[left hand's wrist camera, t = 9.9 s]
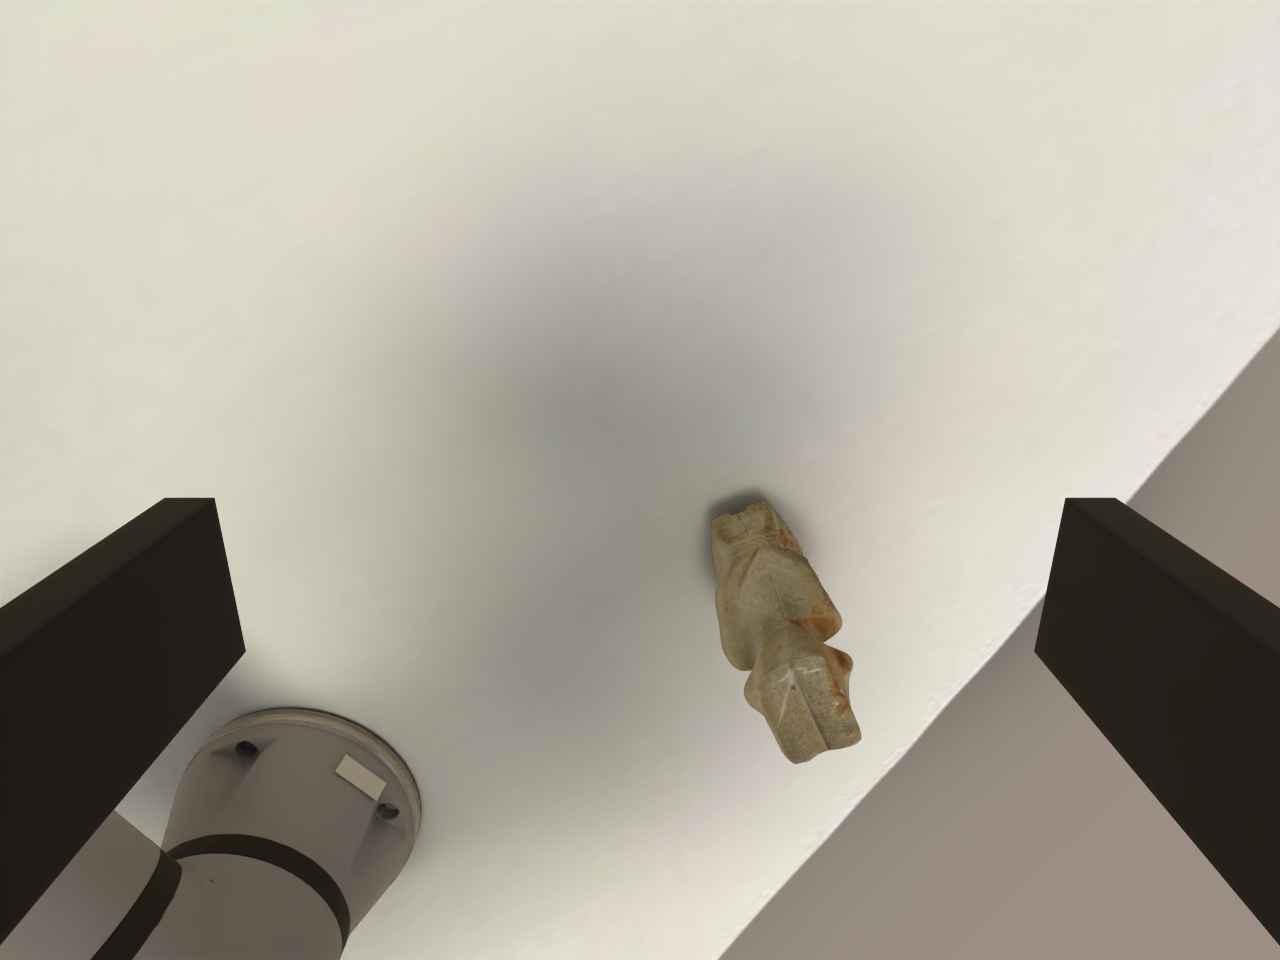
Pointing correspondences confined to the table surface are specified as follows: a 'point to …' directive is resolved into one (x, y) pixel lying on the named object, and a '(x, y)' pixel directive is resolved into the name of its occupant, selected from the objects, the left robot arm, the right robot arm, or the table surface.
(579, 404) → the table surface
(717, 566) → the sculpture
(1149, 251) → the table surface
